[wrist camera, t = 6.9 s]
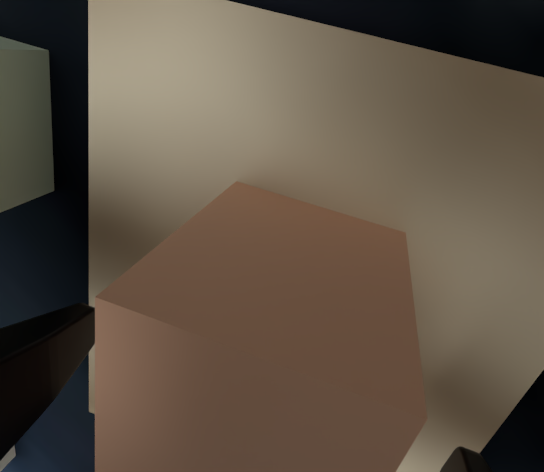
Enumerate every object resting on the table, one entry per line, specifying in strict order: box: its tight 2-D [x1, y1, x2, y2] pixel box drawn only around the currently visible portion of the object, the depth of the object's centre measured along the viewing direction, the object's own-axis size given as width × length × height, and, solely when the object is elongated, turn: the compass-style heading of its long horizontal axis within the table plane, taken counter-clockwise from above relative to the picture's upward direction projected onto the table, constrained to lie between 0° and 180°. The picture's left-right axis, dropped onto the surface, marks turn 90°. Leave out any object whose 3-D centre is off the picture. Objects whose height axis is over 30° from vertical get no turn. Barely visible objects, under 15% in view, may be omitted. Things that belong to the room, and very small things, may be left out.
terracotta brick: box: [95, 181, 428, 472], centre depth 8 cm, size 7×4×5 cm, turn 167°
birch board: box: [88, 0, 544, 472], centre depth 11 cm, size 14×12×1 cm
